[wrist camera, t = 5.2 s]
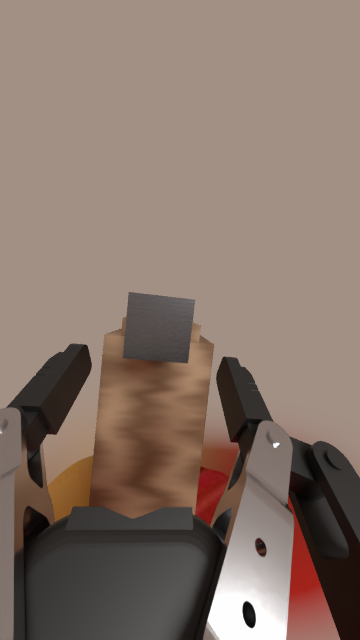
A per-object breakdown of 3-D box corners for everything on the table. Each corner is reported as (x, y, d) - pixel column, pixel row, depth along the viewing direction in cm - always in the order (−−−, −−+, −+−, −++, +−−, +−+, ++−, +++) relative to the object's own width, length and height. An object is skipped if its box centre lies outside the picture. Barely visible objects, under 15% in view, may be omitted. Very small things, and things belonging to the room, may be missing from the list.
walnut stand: (177, 497, 32) (196, 321, 31) (184, 609, 20) (216, 326, 19) (113, 496, 31) (130, 314, 30) (79, 613, 19) (105, 315, 18)
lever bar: (173, 327, 35) (174, 308, 35) (188, 363, 10) (194, 299, 10) (154, 325, 35) (156, 306, 35) (122, 358, 10) (128, 292, 10)
